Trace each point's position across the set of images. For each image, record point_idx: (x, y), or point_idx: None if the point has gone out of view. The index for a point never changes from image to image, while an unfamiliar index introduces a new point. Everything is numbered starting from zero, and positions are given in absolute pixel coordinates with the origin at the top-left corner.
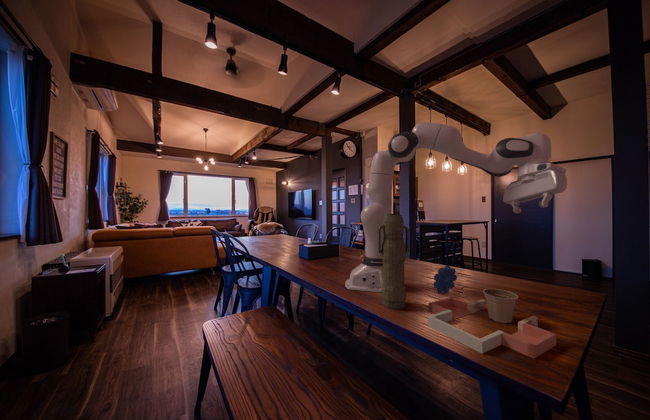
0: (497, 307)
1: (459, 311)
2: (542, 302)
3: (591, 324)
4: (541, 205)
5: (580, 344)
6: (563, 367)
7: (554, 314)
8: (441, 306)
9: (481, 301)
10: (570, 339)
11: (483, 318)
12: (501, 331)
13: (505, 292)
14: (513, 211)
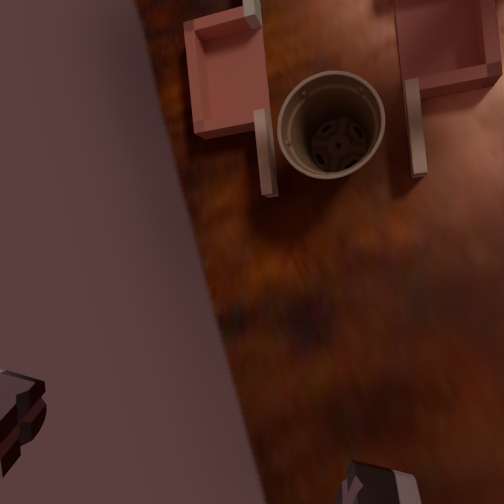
0: (318, 99)
1: (429, 63)
2: (365, 422)
3: (223, 347)
4: (9, 373)
5: (187, 195)
6: (161, 62)
7: (294, 336)
8: (475, 8)
9: (413, 150)
10: (206, 200)
11: None
12: (248, 13)
13: (339, 173)
14: (413, 477)
